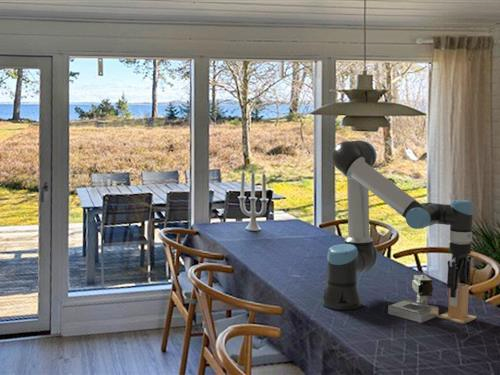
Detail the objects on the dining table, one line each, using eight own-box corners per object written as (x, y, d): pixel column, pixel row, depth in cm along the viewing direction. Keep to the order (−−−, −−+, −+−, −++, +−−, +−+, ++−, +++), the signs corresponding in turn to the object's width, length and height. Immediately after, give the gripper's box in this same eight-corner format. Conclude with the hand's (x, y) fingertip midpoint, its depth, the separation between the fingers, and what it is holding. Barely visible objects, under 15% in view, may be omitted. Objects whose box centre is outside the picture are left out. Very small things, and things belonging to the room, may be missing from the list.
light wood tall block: (447, 316, 213) (449, 284, 212) (454, 313, 217) (456, 281, 215) (460, 319, 210) (462, 286, 208) (467, 316, 213) (469, 284, 212)
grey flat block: (388, 313, 218) (388, 305, 217) (405, 307, 226) (405, 298, 226) (421, 322, 208) (421, 314, 207) (438, 315, 216) (438, 307, 215)
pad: (437, 317, 214) (438, 315, 214) (451, 311, 220) (451, 310, 220) (463, 324, 206) (463, 322, 206) (476, 318, 213) (476, 316, 213)
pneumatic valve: (422, 299, 236) (423, 271, 235) (432, 308, 224) (433, 278, 223) (409, 299, 236) (410, 271, 234) (418, 308, 224) (419, 278, 223)
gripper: (457, 247, 201) (455, 311, 204) (481, 240, 214) (479, 301, 216) (438, 244, 207) (435, 306, 209) (462, 237, 219) (460, 297, 222)
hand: (457, 303), depth 213 cm, fingers open, 5 cm apart
